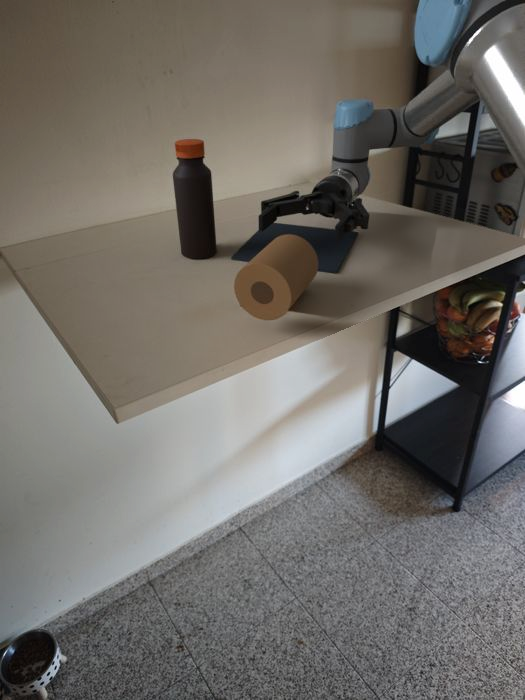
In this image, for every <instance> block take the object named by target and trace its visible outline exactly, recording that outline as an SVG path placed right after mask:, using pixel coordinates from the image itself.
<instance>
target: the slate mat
mask: <svg viewBox="0 0 525 700" xmlns="http://www.w3.org/2000/svg"><path fill="white" fill-rule="evenodd" d="M286 234H291V235H296V236H299V237H301V238H303V239H305V240H306V241H307V242H308V243H309V244H310V245H311V246H312V247H313V249H314V250H315V252H316V255H317V258H318V271H317V272H321V273H329V274H336V275H337V274H338V273H339V271H340V269H341V267H342V265H343V263H344V261H345V260H346V258H347V256H348V254H349V252H350V250H351V249H352V246H353V245H354V243H355V241H356V239H357V238H358V236H359V231H354V230H353V231H352V232H351V233H348V232H347V233H346V234H345V235H344V237H343V238H342V239H341V240H340V241H339V243H337V242H334V236H335V228H326V227H318V226H317V227H316V226H307V225H297V224H291V223H290V224H288V223H280V222H274V223H273V224H271V225H270V226H269V227H268V228H266V229H265V230H264V231H263V232H262V231H259V229H258V230H256V232H254V234H253V235H252V236H250V238H249V239H247V241H245V242H244V243H243V245H241V246H240V247H239V249H238V250H237V251H235V252H234V253H233V254H232V255H231V257H230V260H233V261H240V262H247V263H248V262H250V261H251V260H252V259H253V258H254V257H255V256H256V255H257V254H258V253H260V252H261V251H262V250H263V249H264V248H265V247H266V246H267V245H268V244H270V243H271V242H272V241H273V240H274V239H275V238H277V237H279V236H281V235H286Z"/></svg>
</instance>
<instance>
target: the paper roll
mask: <svg viewBox="0 0 525 700" xmlns="http://www.w3.org/2000/svg"><path fill="white" fill-rule="evenodd" d="M318 272H319V271H318V258H317V255H316V252H315V250H314V249H313V247H312V246H311V245H310V244H309V243H308V242H307V241H306V240H305V239H303V238H301V237H299V236H296V235H291V234H286V235H281V236H279V237H277V238H275V239H274V240H273V241H272V242H271V243H270V244H268V245H267V246H266V247H265V248H264V249H263V250H262V251H261V252H260V253H258V254H257V255H256V256H255V257H254V258H253V259H252V260H251V261H250V262H247V263H246V264H245V265H243V267H242V268H240V269H239V270H238V272H237V273H236V275H235V278H234V282H233V290H234V294H235V297H236V300H237V303H238V304H239V305H240V307H241V308H242V309H243V310H244V311H245V312H246V313H247V314H249V315H250V316H252V317H253V318H256V319H258V320H263V321H275V320H279V319H281V318H282V317H283V316H285V315H286V314H287V313H288V311H290V309H291V308H292V306H293V305H294V304H295V303H296V301H297V300H298V299H299V298H300V297H301V295H302V294H303V293H304V291H305V290H306V289H307V288H308V287H309V285H311V283H312V281H313V280H314V279H315V277H316V275H317V273H318Z"/></svg>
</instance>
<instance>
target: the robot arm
mask: <svg viewBox="0 0 525 700" xmlns="http://www.w3.org/2000/svg"><path fill="white" fill-rule="evenodd" d="M418 2H419V3H418V7H417V10H416V14H415V23H414V33H413V34H414V35H413V36H414V48H415V52H416V55H417V57H418V59H419V61H420V62H421V63H422V64H424V65H425V66H431V67H432V68H438V67H440V66H444V67H445V68H447V69H446V70H445V71H444V72H443V73H442V74H441V75H439V76H438V77H437V78H436V79H435V80H433V82H431V83H429V85H428V86H426V88H424V89H423V90H421V91H420V93H418V94H417V95H416V96H415V97H413V98H412V99H411V100H410V101H409V102H408V103H406V104H405V105H404V106H402V107H395V108H394V107H393V108H374V102H373V101H372V100H370V99H364V98H348V99H342V100H340V101H338V102H337V104H336V106H335V111H334V119H333V124H332V125H333V127H332V128H333V135H332V154H331V155H332V157H331V166H330V169H331V170H330V173H328V174H327V175H326V176H325V177H324V178H322V179H321V180H320V181H319V182H318V183H316V184H315V186H314V187H313V188H312V191H311V192H310V193H308V194H302V195H300V191H299V190H294V191H292V192H290V193H287V194H284V195H279V196H275V197H272V198H268V199H265V200H262V201H260V214H258V230H259V231H262V232H263V231H264V230H265V229H266V228H268V227H269V226H270V225H271V224H273V223H276V221H278V218H280V217H285V216H292V215H298V214H302V215H303V216H307V215H312V214H315V215H320V216H322V217H324V218H329V219H335V220H336V219H337V220H339V221H338V222H337V223H336V225H335V226H334V229H335V236H334V242H337V243H339V241H340V240H341V239H342V238H343V237H344V235H345V234H346V233H347V232H348V233H351V232H352V231H354V230H357V229H358V227H360V229H361V230H368V229H369V222H370V213H369V211H368V210H367V209H366V208H365V206H364V205H363V198H362V197H359V196H361V195H362V194H363V193H364V191H365V190H366V188H367V187H368V185H369V183H370V180H371V170H370V168H369V166H368V164H369V157H370V151H371V150H372V151H373V150H384V149H395V148H412V147H413V148H417V147H420V146H424V145H429V144H431V143H432V142H434V141H435V140H436V137H437V135H439V133H440V128H441V127H442V126H444V125H445V124H447V123H448V122H449V121H451V120H452V119H454V118H455V117H457V116H459V115H460V114H461V113H463V112H464V111H466V110H467V109H469V108H470V107H472V106H473V105H475V104H477V103H478V102H479V101H481V102H482V104H483V106H484V108H485V109H486V112H487V114H488V115H489V117H490V119H491V121H492V123H493V125H494V126H495V128H496V130H497V132H498V133H499V136H500V137H501V139H502V140H503V142H504V144H505V146H506V148H507V150H508V151H509V153H510V155H511V157H512V159H513V161H514V163H515V164H516V166H517V168H518V170H519V171H520V174H521V175H522V177H523V179H524V180H525V0H419V1H418Z"/></svg>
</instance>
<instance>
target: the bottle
mask: <svg viewBox="0 0 525 700" xmlns="http://www.w3.org/2000/svg"><path fill="white" fill-rule="evenodd" d="M174 150H175V157H176V160H177V161H178V165H176V167H175V169H174V170H173V171H172V180H173V181H172V182H173V190H174V199H175V200H174V201H175V208H176V210H175V211H176V216H177V217H176V218H177V226H178V227H177V228H178V236H179V245H180V253H181V255H182V256H183V257H185V258H187V259H191V260H204V259H208V258H211V257H213V256H214V255H216V253H217V251H218V249H217V236H216V222H215V221H216V220H215V205H214V192H213V191H214V189H213V178H212V177H213V176H212V170H211V169H210V168H209V166H207V165H206V164H205V163H204V159H205V155H206V154H205V141H204V140H203V139H198V138H185V139H184V138H183V139H179V140H176V141H175V142H174Z"/></svg>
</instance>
